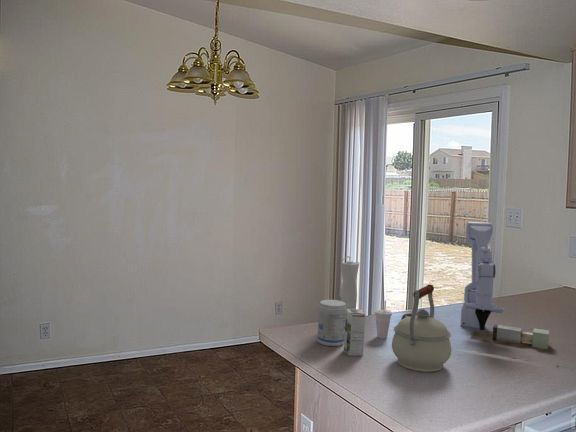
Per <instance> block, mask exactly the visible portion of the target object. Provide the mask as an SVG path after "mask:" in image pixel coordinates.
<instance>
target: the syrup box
mask: <svg viewBox="0 0 576 432" xmlns="http://www.w3.org/2000/svg"><path fill="white" fill-rule="evenodd" d="M365 324H366V313H365V312H364V311H363V310H362V309H360V308H359V309H358V308H356V309H346V319H345V334H344V343H343V351H344V354H345V355H346V357H347V356H348V357H353V356H354V357H358V356H359V357H361V356H364V348H365V347H364V343H365V328H366V327H365V326H366V325H365Z"/></svg>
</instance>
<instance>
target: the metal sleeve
mask: <svg viewBox="0 0 576 432" xmlns="http://www.w3.org/2000/svg"><path fill="white" fill-rule="evenodd" d="M497 325H498V327H497V341H503V342H509V343H515V344H520V343H521V341H520V338H521V331H523V327H516V326H515V327H514V326H507V325H504V324H503V325H502V324H497Z"/></svg>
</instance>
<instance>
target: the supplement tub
mask: <svg viewBox="0 0 576 432" xmlns="http://www.w3.org/2000/svg"><path fill="white" fill-rule="evenodd" d="M345 317H346V303H345V302H342V301H340V300H337V299H323V300H320V302H319V306H318V322H317V324H318V325H317V327H318V328H317V342H318V343H319V344H320V345H323V346H327V347H339V346H342V345H344V334H345Z"/></svg>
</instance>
